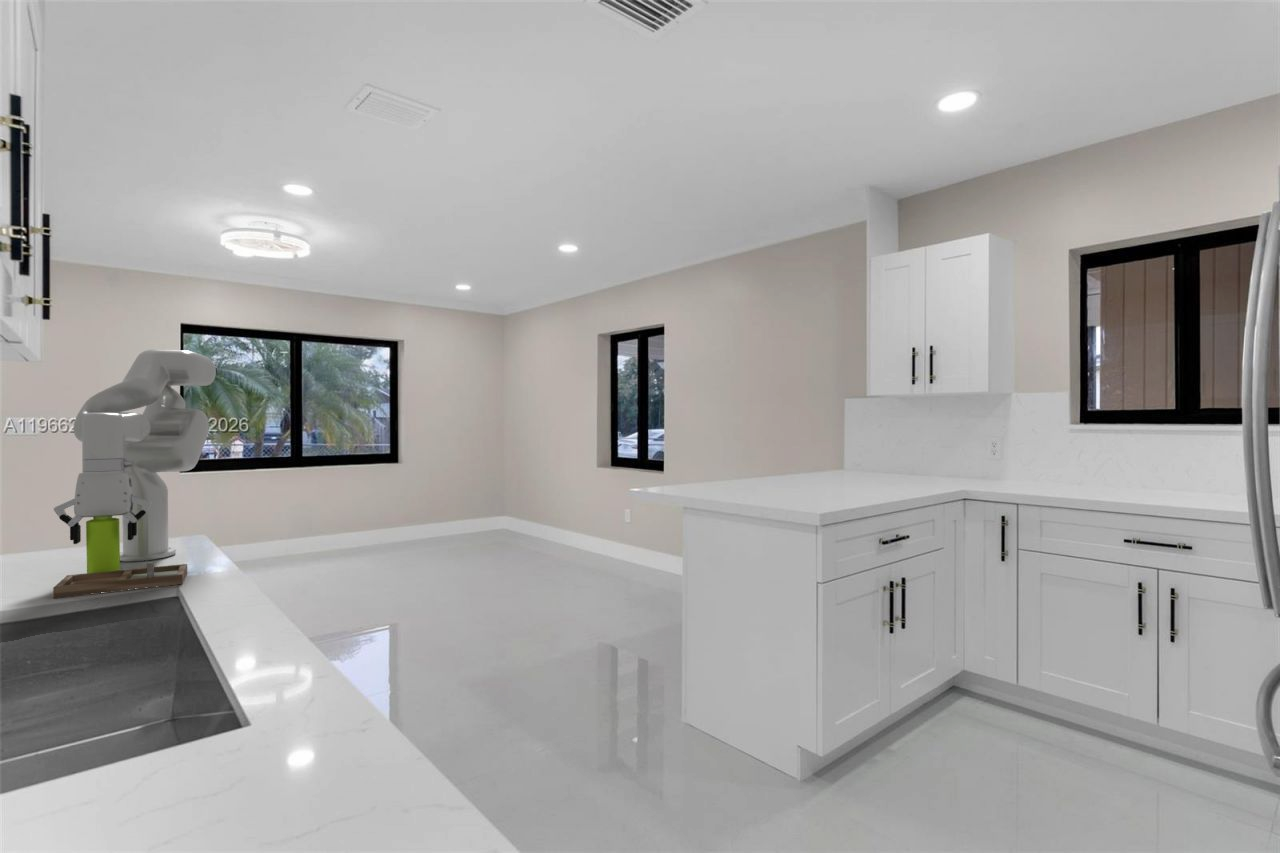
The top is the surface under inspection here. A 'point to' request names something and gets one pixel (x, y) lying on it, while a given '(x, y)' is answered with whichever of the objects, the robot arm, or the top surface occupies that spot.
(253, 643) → the top surface
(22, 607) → the top surface
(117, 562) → the soap dispenser
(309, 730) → the top surface
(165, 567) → the wooden divided tray
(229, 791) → the top surface
